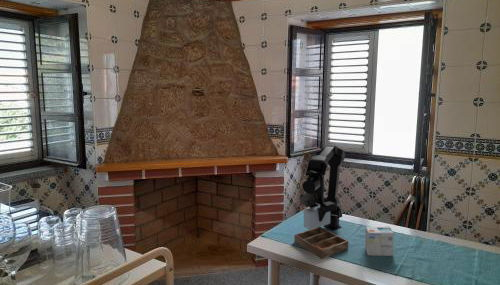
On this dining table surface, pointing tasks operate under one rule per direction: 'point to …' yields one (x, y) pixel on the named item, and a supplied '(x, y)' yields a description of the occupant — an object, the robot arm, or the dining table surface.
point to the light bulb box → (379, 241)
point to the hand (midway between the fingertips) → (317, 219)
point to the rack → (321, 242)
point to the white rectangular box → (314, 218)
